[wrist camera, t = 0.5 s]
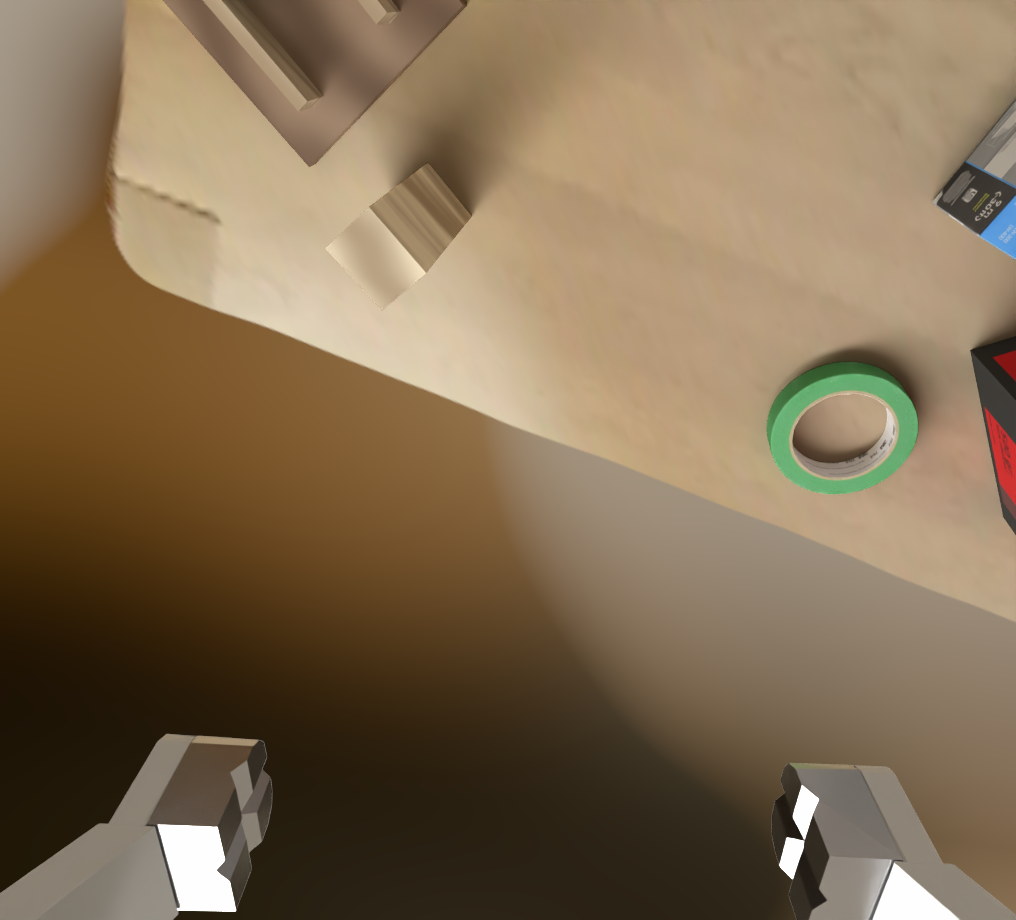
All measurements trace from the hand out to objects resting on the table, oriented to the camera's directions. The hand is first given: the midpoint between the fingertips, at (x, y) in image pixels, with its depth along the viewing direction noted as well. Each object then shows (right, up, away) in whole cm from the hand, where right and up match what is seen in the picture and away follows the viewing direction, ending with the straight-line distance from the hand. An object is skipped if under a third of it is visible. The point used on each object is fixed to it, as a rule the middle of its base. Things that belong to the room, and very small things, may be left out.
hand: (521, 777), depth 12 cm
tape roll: (+27, +8, +50) cm, 57 cm away
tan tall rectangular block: (-6, +25, +45) cm, 52 cm away
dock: (-13, +37, +39) cm, 55 cm away
